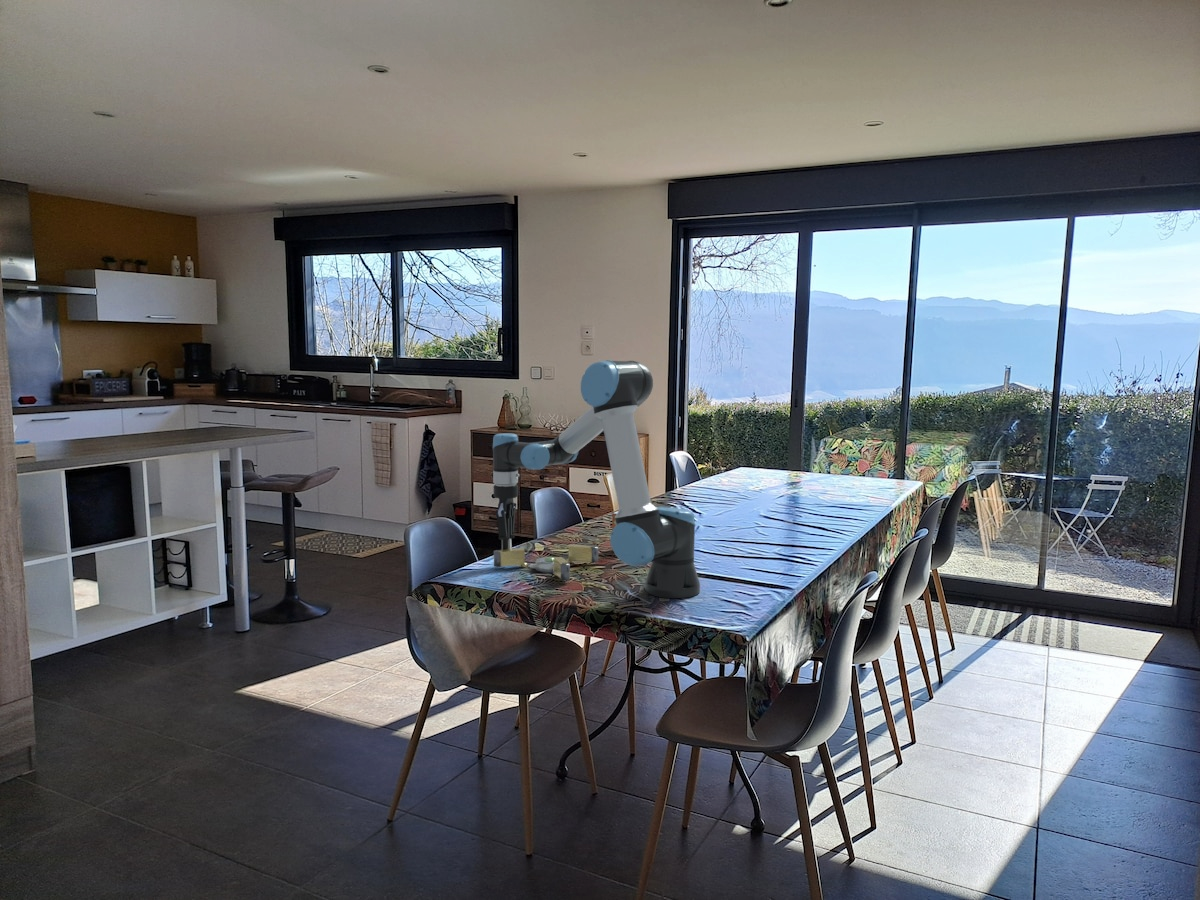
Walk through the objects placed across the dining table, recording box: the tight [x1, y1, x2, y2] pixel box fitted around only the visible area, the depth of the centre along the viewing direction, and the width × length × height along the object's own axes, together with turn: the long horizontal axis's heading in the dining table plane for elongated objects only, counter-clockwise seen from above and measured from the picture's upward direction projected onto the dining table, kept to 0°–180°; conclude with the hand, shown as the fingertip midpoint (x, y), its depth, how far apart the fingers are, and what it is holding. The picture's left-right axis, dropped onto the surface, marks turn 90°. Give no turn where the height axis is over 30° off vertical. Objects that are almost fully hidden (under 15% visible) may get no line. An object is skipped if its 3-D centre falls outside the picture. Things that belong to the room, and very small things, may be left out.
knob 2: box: [566, 544, 599, 564], centre depth 248 cm, size 10×3×6 cm, turn 74°
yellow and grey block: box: [493, 547, 528, 568], centre depth 243 cm, size 10×3×6 cm, turn 111°
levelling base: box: [529, 556, 555, 575], centre depth 243 cm, size 12×11×3 cm
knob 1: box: [553, 556, 571, 581], centre depth 231 cm, size 10×3×6 cm, turn 18°
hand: (506, 559), depth 246 cm, fingers closed
